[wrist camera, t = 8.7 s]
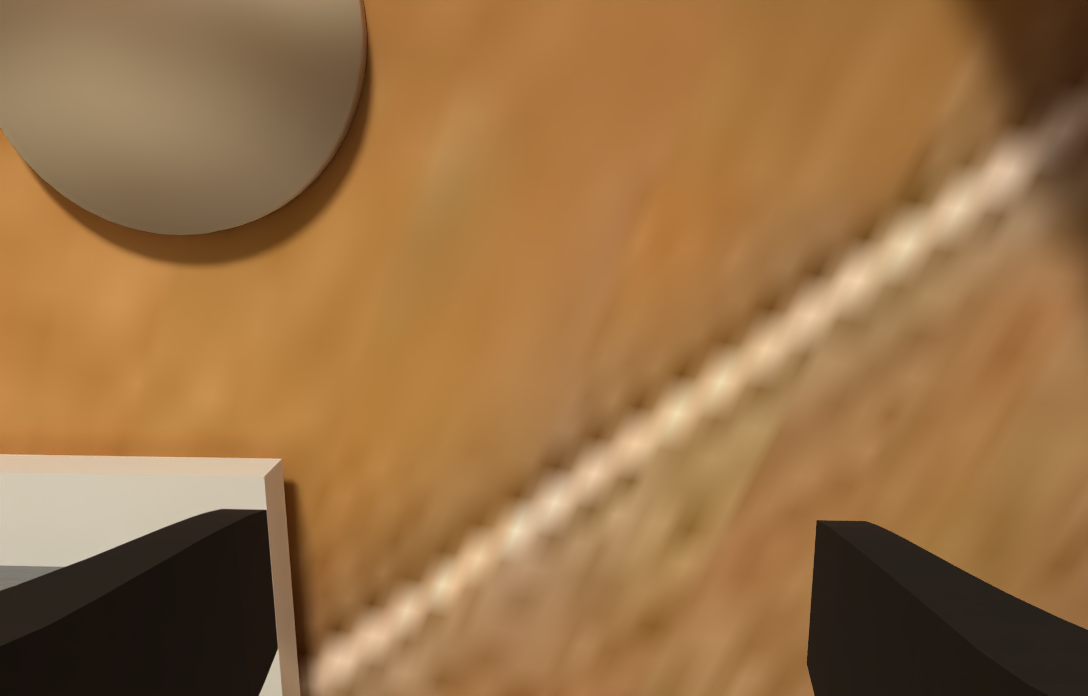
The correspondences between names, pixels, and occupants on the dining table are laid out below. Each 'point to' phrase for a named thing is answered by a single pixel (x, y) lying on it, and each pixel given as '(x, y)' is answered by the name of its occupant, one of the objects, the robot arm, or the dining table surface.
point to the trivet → (142, 517)
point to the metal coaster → (180, 103)
